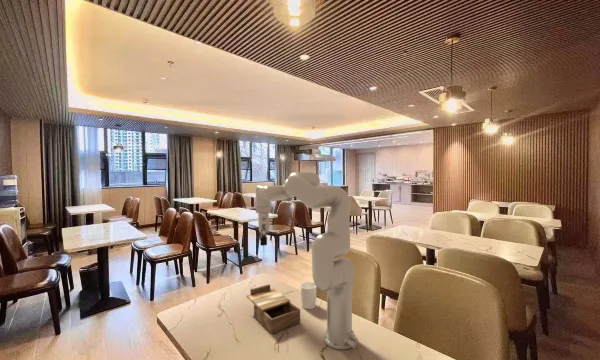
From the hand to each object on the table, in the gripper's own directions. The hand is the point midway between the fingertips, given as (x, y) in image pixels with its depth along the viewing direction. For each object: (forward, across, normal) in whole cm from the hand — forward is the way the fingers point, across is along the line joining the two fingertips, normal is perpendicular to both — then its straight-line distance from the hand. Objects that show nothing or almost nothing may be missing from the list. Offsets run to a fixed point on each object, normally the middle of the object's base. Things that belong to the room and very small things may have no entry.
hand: (263, 242), depth 139 cm
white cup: (+29, -13, -21) cm, 38 cm away
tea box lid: (+22, -16, -1) cm, 27 cm away
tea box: (+28, -23, -5) cm, 37 cm away
